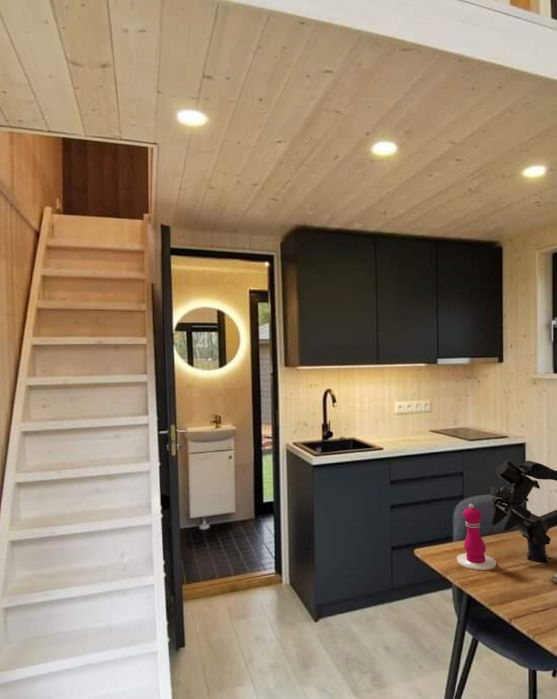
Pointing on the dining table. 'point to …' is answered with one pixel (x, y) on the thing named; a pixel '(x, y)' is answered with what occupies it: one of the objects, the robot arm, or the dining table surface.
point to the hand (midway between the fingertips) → (498, 527)
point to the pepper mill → (473, 536)
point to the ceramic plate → (487, 565)
